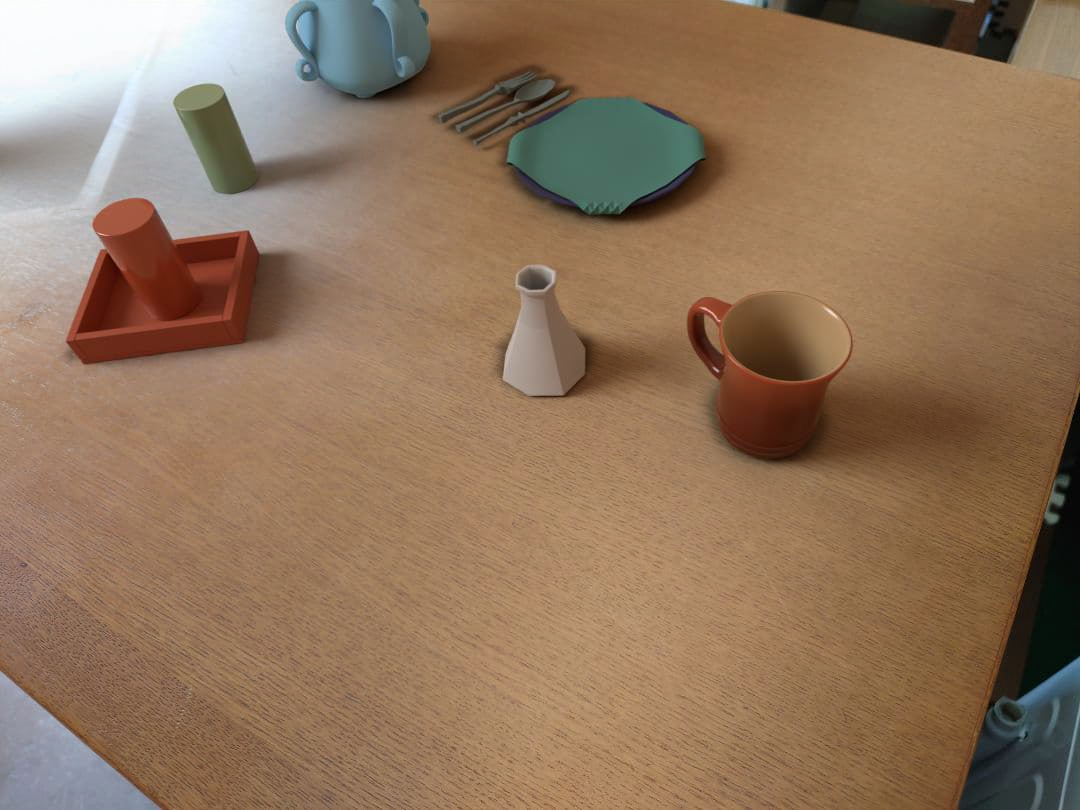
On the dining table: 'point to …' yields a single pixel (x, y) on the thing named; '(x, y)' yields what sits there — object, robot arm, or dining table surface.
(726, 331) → the mug
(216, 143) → the sage canister
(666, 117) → the cutlery set
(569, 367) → the flask
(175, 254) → the terracotta canister
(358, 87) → the decorative pot
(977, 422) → the dining table surface
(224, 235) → the terracotta tray
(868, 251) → the dining table surface
